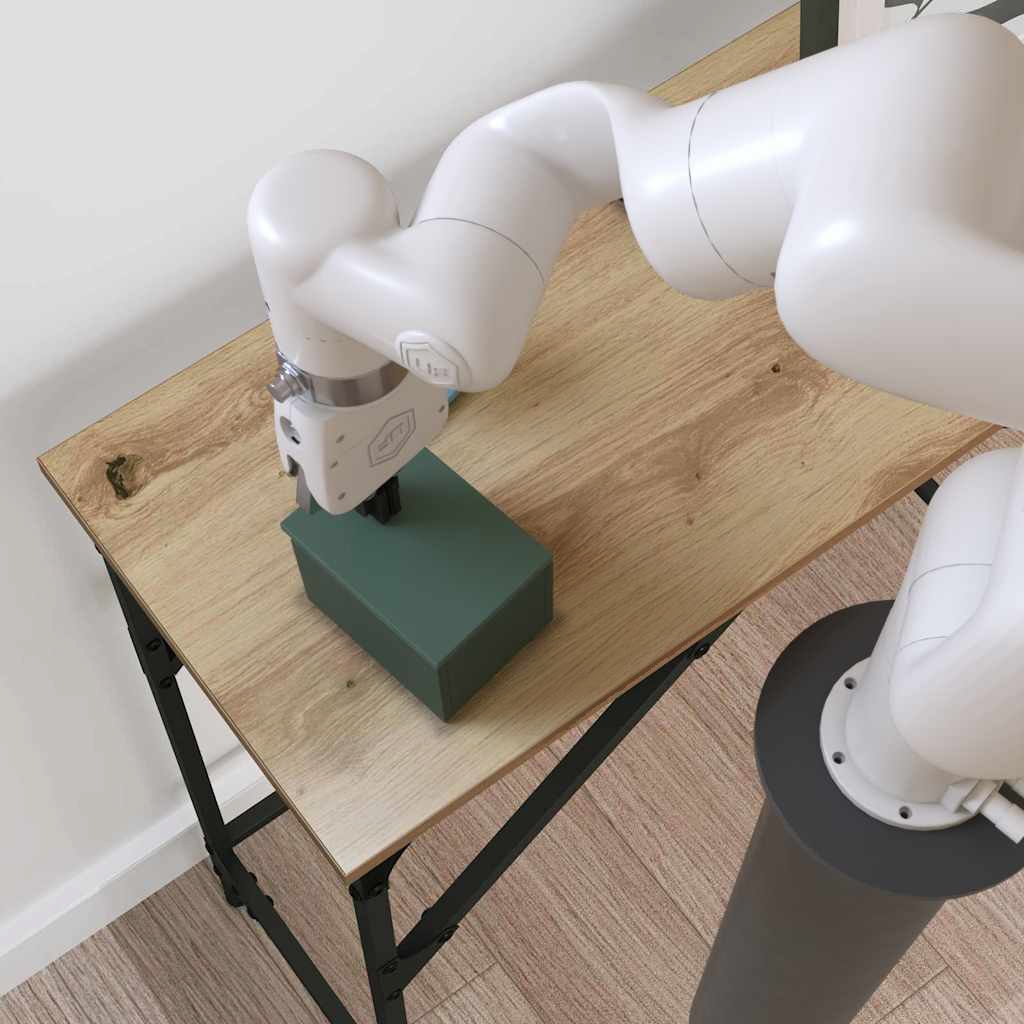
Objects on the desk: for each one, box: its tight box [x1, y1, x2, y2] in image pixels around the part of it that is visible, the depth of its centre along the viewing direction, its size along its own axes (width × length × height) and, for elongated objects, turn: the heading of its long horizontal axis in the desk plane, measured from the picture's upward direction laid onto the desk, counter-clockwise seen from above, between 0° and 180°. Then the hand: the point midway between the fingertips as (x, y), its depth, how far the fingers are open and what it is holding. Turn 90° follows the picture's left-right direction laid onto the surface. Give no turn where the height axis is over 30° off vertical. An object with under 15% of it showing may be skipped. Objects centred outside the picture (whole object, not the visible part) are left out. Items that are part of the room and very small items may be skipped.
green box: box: [290, 537, 554, 724], centre depth 108 cm, size 14×11×9 cm
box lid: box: [279, 446, 554, 670], centre depth 104 cm, size 14×11×1 cm
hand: (376, 504), depth 105 cm, fingers closed
